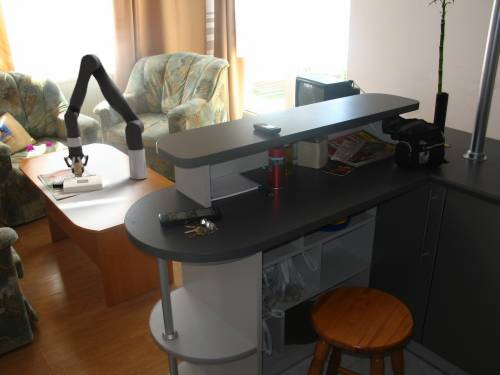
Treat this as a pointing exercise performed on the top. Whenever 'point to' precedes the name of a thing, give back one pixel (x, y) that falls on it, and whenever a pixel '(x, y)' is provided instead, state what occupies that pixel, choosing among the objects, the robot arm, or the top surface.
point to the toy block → (30, 147)
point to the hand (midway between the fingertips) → (78, 173)
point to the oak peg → (77, 169)
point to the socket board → (82, 184)
